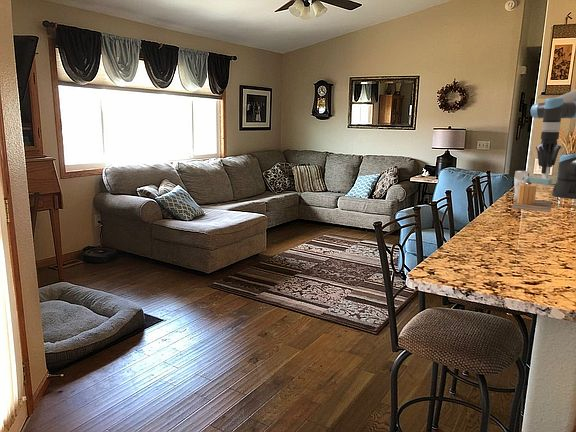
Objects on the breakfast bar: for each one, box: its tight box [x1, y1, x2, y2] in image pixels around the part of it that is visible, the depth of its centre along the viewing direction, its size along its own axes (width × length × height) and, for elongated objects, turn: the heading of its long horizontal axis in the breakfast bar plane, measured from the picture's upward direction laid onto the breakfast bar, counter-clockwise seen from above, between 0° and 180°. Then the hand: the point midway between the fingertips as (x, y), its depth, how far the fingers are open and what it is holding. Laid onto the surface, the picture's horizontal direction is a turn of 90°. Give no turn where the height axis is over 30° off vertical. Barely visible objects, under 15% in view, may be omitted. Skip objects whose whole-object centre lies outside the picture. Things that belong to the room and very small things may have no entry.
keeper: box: [525, 175, 553, 186], centre depth 224 cm, size 14×3×2 cm, turn 20°
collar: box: [517, 183, 537, 205], centre depth 223 cm, size 8×8×9 cm
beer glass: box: [513, 170, 530, 200], centre depth 240 cm, size 7×7×15 cm
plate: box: [510, 199, 553, 213], centre depth 220 cm, size 30×16×2 cm, turn 149°
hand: (544, 180), depth 223 cm, fingers closed
